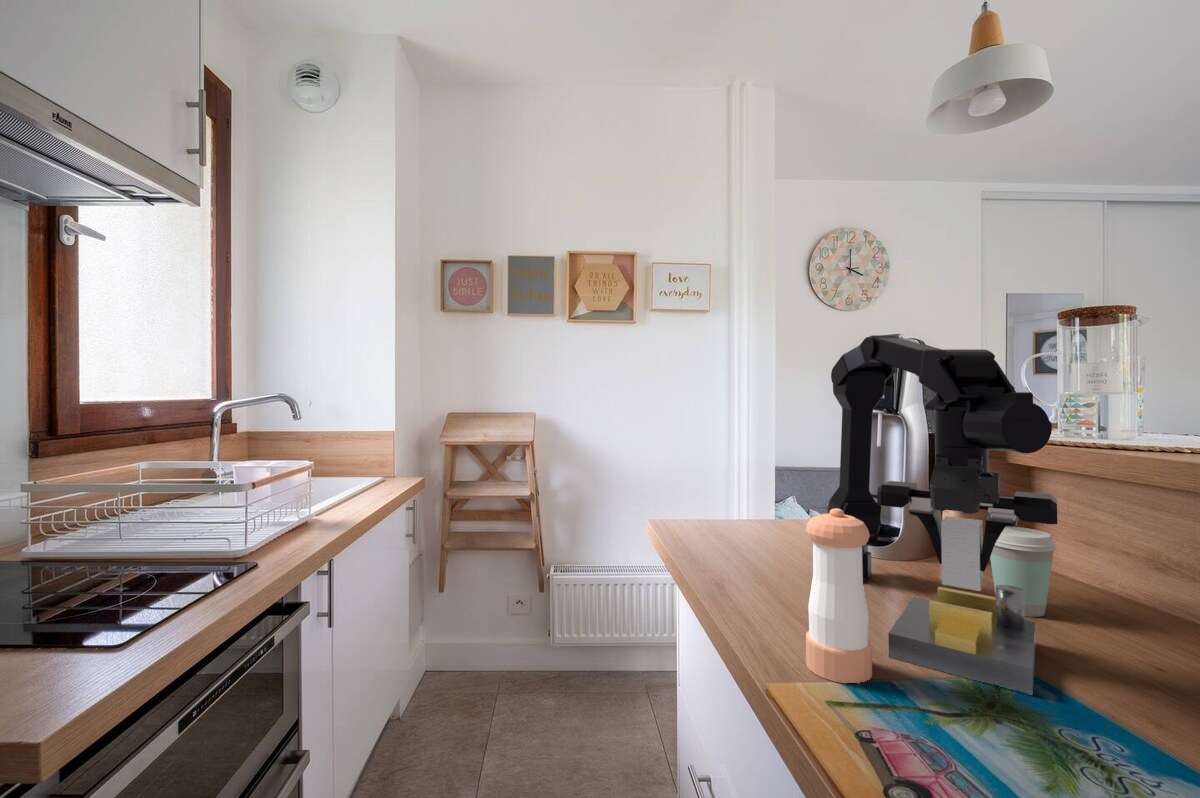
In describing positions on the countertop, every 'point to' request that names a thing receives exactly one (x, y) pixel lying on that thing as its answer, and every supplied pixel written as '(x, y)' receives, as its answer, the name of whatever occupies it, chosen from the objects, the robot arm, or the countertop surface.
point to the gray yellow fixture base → (969, 636)
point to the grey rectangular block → (962, 552)
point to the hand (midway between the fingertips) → (962, 567)
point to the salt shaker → (838, 600)
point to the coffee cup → (1024, 565)
